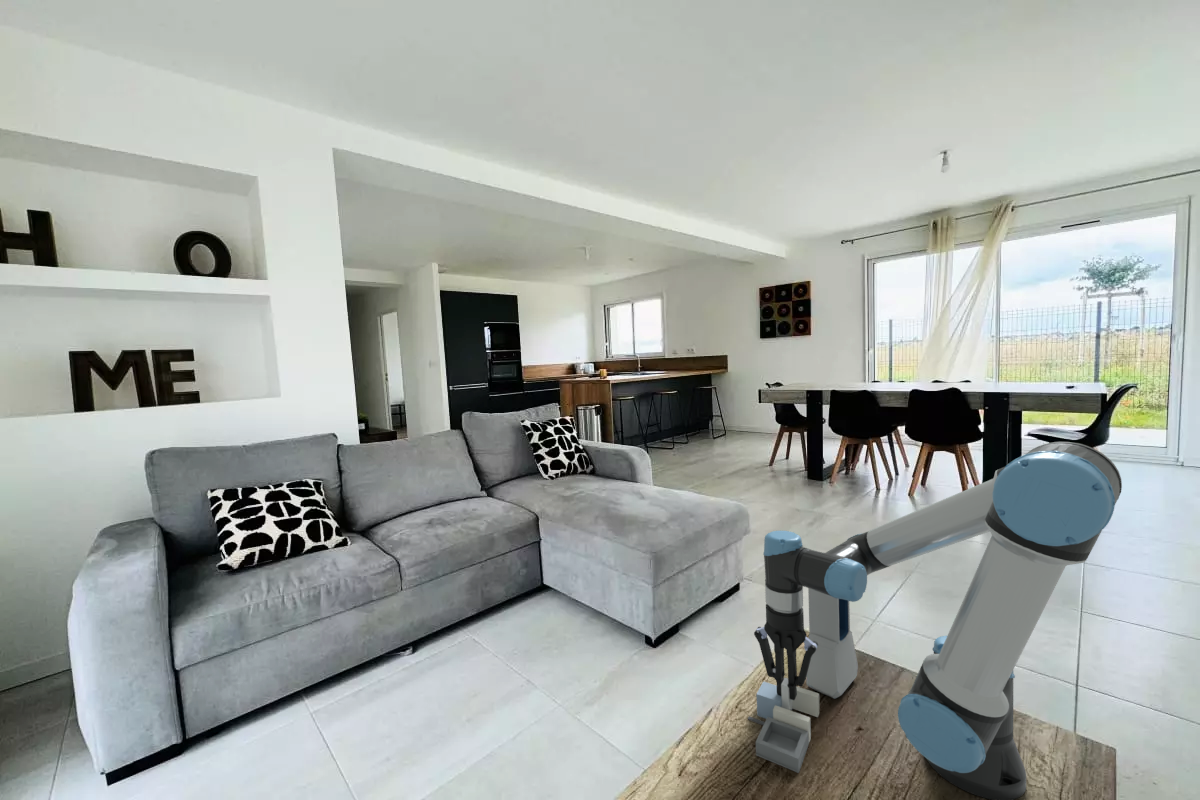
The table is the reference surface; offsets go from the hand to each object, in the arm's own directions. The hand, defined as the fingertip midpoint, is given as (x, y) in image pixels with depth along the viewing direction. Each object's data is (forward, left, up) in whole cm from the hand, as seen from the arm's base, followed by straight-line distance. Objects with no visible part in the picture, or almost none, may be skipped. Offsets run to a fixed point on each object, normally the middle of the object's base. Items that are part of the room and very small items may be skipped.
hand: (787, 710), depth 105 cm
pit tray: (-2, +10, -2) cm, 10 cm away
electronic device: (-6, -17, -2) cm, 18 cm away
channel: (-2, 0, -2) cm, 3 cm away
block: (+3, 0, -2) cm, 4 cm away
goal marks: (+4, 0, -2) cm, 5 cm away
